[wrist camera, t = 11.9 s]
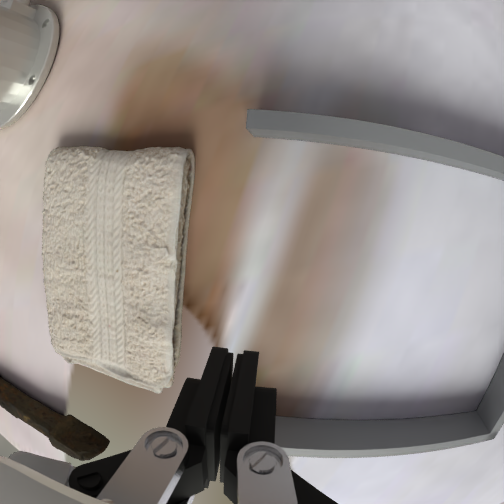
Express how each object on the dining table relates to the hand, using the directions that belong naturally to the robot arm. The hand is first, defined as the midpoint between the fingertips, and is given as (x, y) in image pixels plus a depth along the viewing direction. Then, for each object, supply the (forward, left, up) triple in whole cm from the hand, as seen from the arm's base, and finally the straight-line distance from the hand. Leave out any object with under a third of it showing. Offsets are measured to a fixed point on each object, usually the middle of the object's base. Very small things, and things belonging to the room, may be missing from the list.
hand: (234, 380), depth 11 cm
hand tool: (+19, -24, -10) cm, 32 cm away
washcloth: (0, -11, -10) cm, 15 cm away
